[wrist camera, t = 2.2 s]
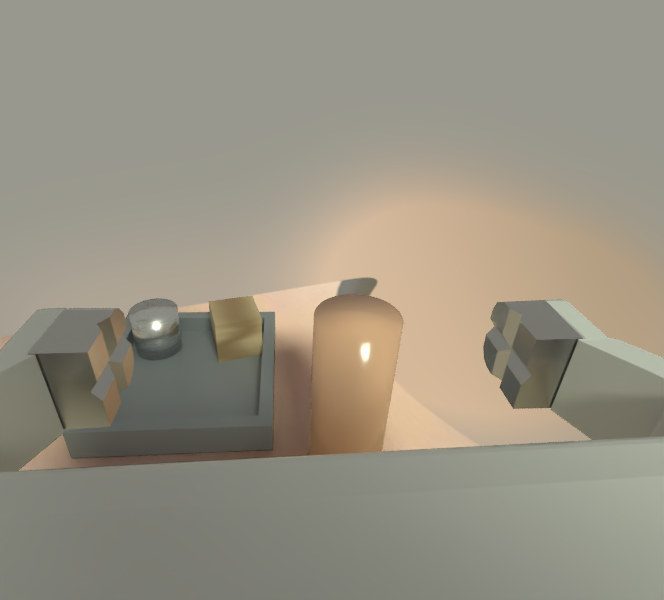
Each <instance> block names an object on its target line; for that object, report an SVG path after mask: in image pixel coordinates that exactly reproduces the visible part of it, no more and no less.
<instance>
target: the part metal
mask: <svg viewBox="0 0 664 600" xmlns="http://www.w3.org/2000/svg"><path fill="white" fill-rule="evenodd" d="M129 319H130V323H131V328H132V333H133V337H134V342H135V346H136V351H137V354H138V355H139V356H140V357H141V358H143V359H146V360H154V361H155V360H163V359H167V358H169V357H172V356H174V355H175V354H177V353H178V352H179V351H180V350H181V348H182V346H183V342H182V335H181V329H180V322H179V315H178V309H177V305H176V304H175V303H174V302H173V301H170V300H167V299H150V300H145V301H142V302H140V303H138V304H136V305H134V306H133V307H132V308H131V309H130V311H129Z"/></svg>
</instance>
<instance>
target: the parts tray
mask: <svg viewBox="0 0 664 600" xmlns="http://www.w3.org/2000/svg"><path fill="white" fill-rule="evenodd" d="M259 313H260V315H261V318H262V343H263V349H262V355H257V356H251V357H246V358H240V359H235V360H229V361H224V362H218V358H217V354H216V350H215V345H214V341H213V337H212V328H211V318H210V312H192V313H178V315H179V322H180V329H181V335H182V342H183V346H182V348H181V350H180V351H179V352H178V353H177V354H175V355H174V356H172V357H169V358H167V359H163V360H155V361H154V360H146V359H143V358H141V357H140V356H139V355H138V354H137V351H136V346H135V342H134V337H133V333H132V328H131V323H130V319H129V313H128V315H127V317H126V319H125V321H126V325H127V327H126V329H125V331H124V333H123V335H122V336H123V337H124V338H125V339H126V340H127V341H129V342H130V343H131V345H132V350H133V356H134V368H133V375H132V379H131V381H130V384H129V386H128V387H127V388H126V389H125V390H123V391H122V392H120V393H119V396H120V399H121V404H120V406H119V409H118V411H117V413H116V415H115V417H114V420H113V422H112V424H111V426H110V427H98V428H84V429H70V430H64V433H63V436H64V439H65V441H66V444H67V447H68V449H69V452H70V455H71V457H72V458H89V457H112V456H136V455H159V454H183V453H206V452H230V451H253V450H273V411H274V365H275V312H259Z"/></svg>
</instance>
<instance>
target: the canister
mask: <svg viewBox="0 0 664 600" xmlns="http://www.w3.org/2000/svg"><path fill="white" fill-rule="evenodd" d="M402 328H403V318H402V315H401V314H400V312H399V311H398V310H397V309H396V308H395V307H394V306H392V305H391V304H389V303H388V302H386V301H384V300H381V299H378V298H375V297H371V296H366V295H358V294H347V295H339V296H335V297H332V298H329V299H327V300H325V301H323V302H322V303H320V304H319V305H318V307H317V308H316V310H315V312H314V329H313V354H312V379H311V404H310V428H309V453H308V455H327V454H346V453H364V452H382V448H383V442H384V436H385V430H386V424H387V418H388V412H389V406H390V400H391V394H392V388H393V382H394V376H395V370H396V364H397V358H398V352H399V346H400V340H401V334H402Z"/></svg>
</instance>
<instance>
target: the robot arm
mask: <svg viewBox="0 0 664 600" xmlns="http://www.w3.org/2000/svg"><path fill="white" fill-rule="evenodd" d="M491 320H492V322H493V324H494V326H495V327H493V328H492V329H491V330H490V331H489V332H488V333H487V334H486V338H485V342H484V359H485V362H486V365H487V368H488V369H489V371H490V373H491V374H492V375H494V376H496V377H498V378H499V379H501V380H502V382H501V385H500V388H501V390H502V391H503V393H504V395H505V396H506V398H507V399H508V401H509V403H510V404H511V406H512V407H513V409H515V408H516V409H517V408H518V409H519V408H551V410H552V411H553V412H555V413H556V414H557V415H559V416H560V417H562V418H563V419H564V420H566V421H567V422H568V423H570V424H571V425H572V426H574V427H575V428H577V429H578V430H579V431H581V432H582V433H584V434H585V435H586V436H588V437H589V438H590V439H592V440H586V441H568V442H549V443H530V444H512V445H493V446H474V447H456V448H437V449H419V450H400V451H383V452H364V453H346V454H327V455H308V456H290V457H271V458H252V459H234V460H215V461H196V462H178V463H159V464H140V465H121V466H103V467H84V468H65V469H47V470H28V471H19V470H20V469H21V468H22V467H23V466H24V465H26V464H27V463H28V462H29V461H30V460H32V459H33V458H34V457H35V456H36V455H38V454H39V453H40V452H41V451H42V450H44V449H45V448H46V447H47V446H48V445H50V444H51V443H52V442H53V441H54V440H56V439H57V438H58V437H59V436H60V435H61V434H63V433H64V430H70V429H84V428H98V427H110V426H111V424H112V422H113V420H114V417H115V415H116V413H117V411H118V409H119V406H120V404H121V399H120V396H119V393H120V392H122V391H123V390H125V389H126V388H127V387H128V386H129V384H130V381H131V379H132V375H133V368H134V356H133V350H132V345H131V343H130V342H129V341H127V340H126V339H125V338H124V337H123V336H122V335H123V333H124V331H125V329H126V327H127V325H126V321H125V317H124V314H123V312H122V311H121V310H120V309H118V308H112V309H111V308H108V309H107V308H105V309H104V308H90V309H89V308H87V309H86V308H73V309H72V308H69V309H66V308H55V309H41V310H37V311H36V312H35V313H34V314H33V315H32V316H31V317H30V318H29V320H28V321H27V322H26V323H25V324H24V325H23V326H22V327H21V328H20V329H19V331H18V332H17V333H16V334H15V335H14V336H13V337H12V338H11V339H10V340H9V341H8V342H7V343H6V345H5V346H4V347H3V348H2V349H1V350H0V600H664V358H662V357H659V356H657V355H655V354H652V353H650V352H648V351H645V350H643V349H640V348H638V347H635V346H633V345H630V344H628V343H626V342H623V341H621V340H618V339H616V338H608V337H606V336H605V335H604V334H603V333H602V332H601V331H600V330H599V329H598V328H597V327H595V326H594V325H593V324H592V323H591V322H590V321H589V320H588V319H586V318H585V317H584V316H583V315H582V314H581V313H580V312H579V311H578V310H577V309H575V308H574V307H573V306H572V305H571V304H570V303H569V302H568V301H565V300H562V299H556V300H539V301H516V302H497V304H496V305H495V307H494V308H493V311H492V315H491Z"/></svg>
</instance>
